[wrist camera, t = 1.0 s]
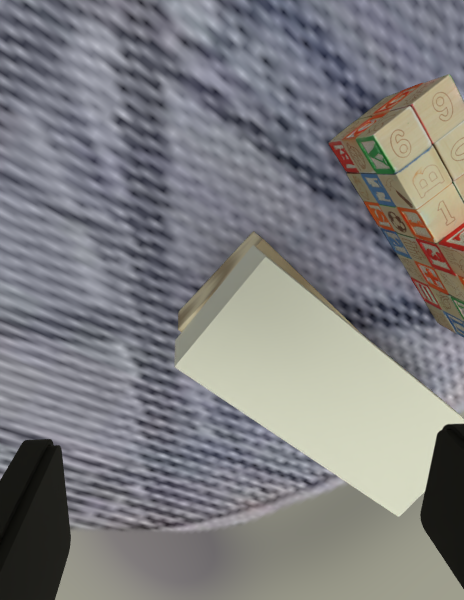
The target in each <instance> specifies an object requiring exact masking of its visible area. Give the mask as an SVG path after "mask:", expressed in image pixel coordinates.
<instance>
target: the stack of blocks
mask: <svg viewBox="0 0 464 600" xmlns="http://www.w3.org/2000/svg"><path fill="white" fill-rule="evenodd" d="M328 144H329V145H330V147H331V148H332V150H333V152H334V153H335V155H336V156H337V158H338V159H339V161H340V162H341V164H342V166H343V167H344V169H345V171H347V176H348V177H349V179H350V181H351V182H352V184H353V185H354V187H355V189H356V190H357V192H358V193H359V195H360V197H361V198H362V200H363V201H364V203H365V205H366V207H367V208H368V210H369V212H370V213H371V215H372V217H373V218H374V220H375V221H376V223H377V225H378V226H379V227H380V228H381V230H382V231H383V233H384V234H385V236H386V238H387V239H388V241H389V243H390V244H391V246H392V248H393V249H394V251H395V252H396V253H397V255H398V257H399V258H400V260H401V262H402V263H403V265H404V267H405V268H406V270H407V271H408V273H409V275H410V276H411V279H412V281H413V283H414V284H415V286H416V288H417V289H418V291H419V293H420V294H421V296H422V297H423V299H424V301H425V302H426V304H427V306H428V308H429V309H430V311H431V313H432V314H433V316H434V318H435V319H436V321H437V322H438V323H439V324H440V325H442V326H444V327H446V328H448V329H449V330H451V331H453V332H454V333H456V334H459V335H461V336H462V337H464V101H463V99H462V97H461V95H460V93H459V91H458V89H457V87H456V85H455V83H454V81H453V79H452V77H451V75H450V74H449V75H446V76H443V77H440V78H437V79H434V80H431V81H428V82H426V83H421V84H418V85H415V86H412V87H410V88H407V89H405V90H402V91H400V92H398V93H395V94H393V95H390V96H388V97H385V98H384V99H383V100H381V101H380V102H379V103H378V104H376V105H375V106H374V107H373V108H371V109H370V110H369V111H367V112H366V113H365V114H364V115H362V116H361V117H360V118H359V119H358V120H356V121H355V122H353V123H352V124H351V125H349V126H348V127H347V128H345V129H344V130H343V131H342V132H340V133H339V134H338V135H337V136H336V137H334V138H333V139H332V140H331V141H330V142H329V143H328Z"/></svg>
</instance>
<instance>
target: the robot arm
mask: <svg viewBox="0 0 464 600" xmlns="http://www.w3.org/2000/svg"><path fill="white" fill-rule="evenodd" d="M421 522H422V525H423V528H424V529H425V531H426V533H427V534H428V536H429V537H430V539H431V540H432V542H433V543H434V545H435V546H436V548H437V549H438V551H439V552H440V554H441V555H442V557H443V558H444V560H445V561H446V563H447V564H448V566H449V567H450V569H451V570H452V572H453V573H454V575H455V577H456V578H457V580H458V581H459V582H460V584H461V586H462V587H463V589H464V424H447V425H445V426H444V427H443V429H442V430H441V431H439V432H438V433H437V437H436V442H435V446H434V451H433V456H432V461H431V465H430V470H429V475H428V480H427V485H426V489H425V494H424V500H423V504H422V509H421ZM70 541H71V535H70V525H69V516H68V506H67V497H66V488H65V478H64V469H63V459H62V451H61V447H60V446H59V445H56V446H54V445H53V442H52V440H51V439H43V440H25V441H24V442H23V443H22V444H21V446H20V448H19V449H18V451H17V453H16V455H15V456H14V458H13V460H12V461H11V463H10V465H9V467H8V468H7V470H6V472H5V473H4V475H3V477H2V478H1V480H0V600H55V597H56V594H57V591H58V587H59V584H60V580H61V577H62V574H63V571H64V567H65V564H66V561H67V557H68V554H69V549H70Z"/></svg>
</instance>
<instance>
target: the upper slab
mask: <svg viewBox="0 0 464 600" xmlns="http://www.w3.org/2000/svg"><path fill="white" fill-rule="evenodd" d="M175 368H177V369H178V370H180V371H181V372H183V373H184V374H186V375H187V376H189V377H190V378H192V379H193V380H195V381H196V382H198V383H199V384H201V385H202V386H204V387H205V388H207V389H208V390H210V391H211V392H213V393H214V394H216V395H217V396H219V397H220V398H222V399H223V400H225V401H226V402H228V403H229V404H231V405H232V406H234V407H235V408H237V409H238V410H240V411H241V412H243V413H244V414H246V415H247V416H249V417H250V418H252V419H253V420H255V421H256V422H258V423H259V424H261V425H262V426H264V427H265V428H267V429H268V430H270V431H271V432H273V433H274V434H275V435H277V436H278V437H280V438H281V439H283V440H284V441H286V442H287V443H289V444H290V445H292V446H293V447H295V448H296V449H298V450H299V451H301V452H302V453H304V454H305V455H307V456H308V457H310V458H311V459H313V460H314V461H316V462H317V463H319V464H320V465H322V466H323V467H325V468H326V469H328V470H329V471H331V472H332V473H334V474H335V475H337V476H338V477H340V478H341V479H343V480H344V481H346V482H347V483H349V484H350V485H352V486H353V487H355V488H356V489H358V490H359V491H361V492H362V493H364V494H365V495H367V496H368V497H370V498H371V499H373V500H374V501H376V502H377V503H379V504H380V505H382V506H383V507H385V508H386V509H388V510H389V511H391V512H392V513H394V514H395V515H397V516H398V517H399V516H400V515H401V514H402V513H403V512H405V511H406V510H407V509H408V507H410V506H411V504H412V503H413V502H415V501H416V500H417V499H418V498H419V497H420V495H422V493H424V492H425V489H426V485H427V480H428V475H429V470H430V465H431V461H432V456H433V451H434V446H435V442H436V437H437V433H438V432H439V431H441V430H442V429H443V427H444V426H445V425H447V424H464V418H463V417H462V416H461V415H460V414H458V413H457V412H456V411H455V410H454V409H453V408H451V407H450V406H449V405H448V404H447V403H446V402H444V401H443V400H442V399H441V398H439V397H438V396H437V395H436V394H435V393H433V392H432V391H431V390H430V389H428V388H427V387H426V386H425V385H424V384H422V383H421V382H420V381H419V380H417V379H416V378H415V377H414V376H413V375H411V374H410V373H409V372H408V371H407V370H405V369H404V368H403V367H402V366H400V365H399V364H398V363H397V362H396V361H394V360H393V359H392V358H391V357H389V356H388V355H387V354H386V353H385V352H383V351H382V350H381V349H380V348H378V347H377V346H376V345H375V344H374V343H372V342H371V341H370V340H369V339H367V338H366V337H365V336H364V335H363V334H361V333H360V332H359V331H358V330H356V329H355V328H354V327H353V326H352V325H350V324H349V323H348V322H347V321H345V320H344V319H343V318H342V317H341V316H339V315H338V314H337V313H336V312H334V311H333V310H332V309H331V308H330V307H328V306H327V305H326V304H325V303H323V302H322V301H321V300H320V299H319V298H317V297H316V296H315V295H314V294H312V293H311V292H310V291H309V290H308V289H306V288H305V287H304V286H303V285H302V284H300V283H299V282H298V281H297V280H295V279H294V278H293V277H292V276H291V275H289V274H288V273H287V272H286V271H284V270H283V269H282V268H281V267H280V266H278V265H277V264H276V263H275V262H273V261H272V260H271V259H270V258H269V257H267V256H266V255H265V254H264V253H262V252H261V251H260V250H259V249H258V248H256V247H255V246H254V245H253V246H252V247H251V248H250V249H249V251H248V252H247V253H246V254H245V255H244V257H243V258H242V259H241V260H240V262H239V263H238V264H237V265H236V266H235V268H234V269H233V270H232V271H231V273H230V274H229V275H228V276H227V278H226V279H225V280H224V281H223V282H222V284H221V285H220V286H219V287H218V289H217V290H216V291H215V292H214V293H213V295H212V296H211V297H210V298H209V300H208V301H207V302H206V303H205V304H204V306H203V307H202V308H201V309H200V311H199V312H198V313H197V314H196V316H195V317H194V318H193V319H192V320H191V322H190V323H189V324H188V325H187V327H186V328H185V329H184V330H183V331H182V333H181V334H180V335H179V336H178V338H177V339H176V340H175Z"/></svg>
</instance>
